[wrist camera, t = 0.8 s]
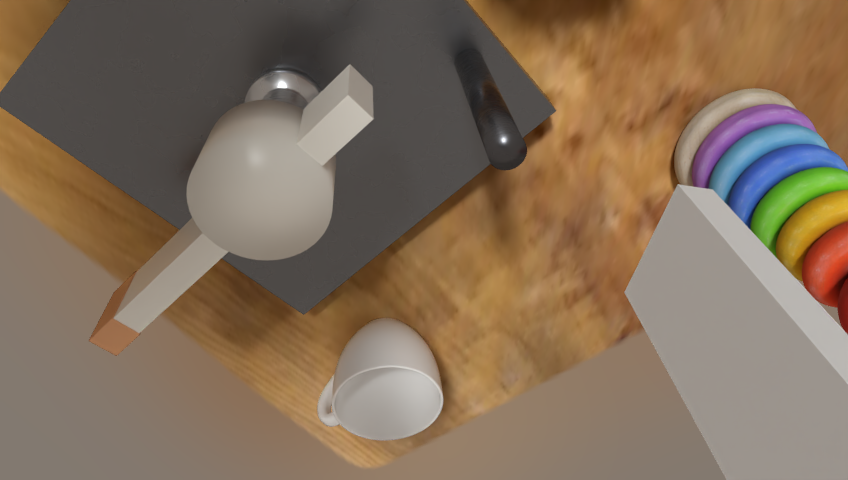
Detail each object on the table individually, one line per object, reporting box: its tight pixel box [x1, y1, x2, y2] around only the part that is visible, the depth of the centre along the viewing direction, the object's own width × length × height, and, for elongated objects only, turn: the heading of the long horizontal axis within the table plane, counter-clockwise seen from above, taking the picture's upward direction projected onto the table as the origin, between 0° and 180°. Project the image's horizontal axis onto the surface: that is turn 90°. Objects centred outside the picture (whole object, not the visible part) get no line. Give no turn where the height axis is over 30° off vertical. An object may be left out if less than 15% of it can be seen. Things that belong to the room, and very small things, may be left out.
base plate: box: [0, 0, 556, 315], centre depth 31 cm, size 22×22×13 cm
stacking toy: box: [674, 89, 848, 334], centre depth 33 cm, size 8×8×19 cm
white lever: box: [89, 64, 374, 356], centre depth 28 cm, size 18×6×4 cm, turn 132°
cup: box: [317, 318, 443, 440], centre depth 45 cm, size 8×10×7 cm
